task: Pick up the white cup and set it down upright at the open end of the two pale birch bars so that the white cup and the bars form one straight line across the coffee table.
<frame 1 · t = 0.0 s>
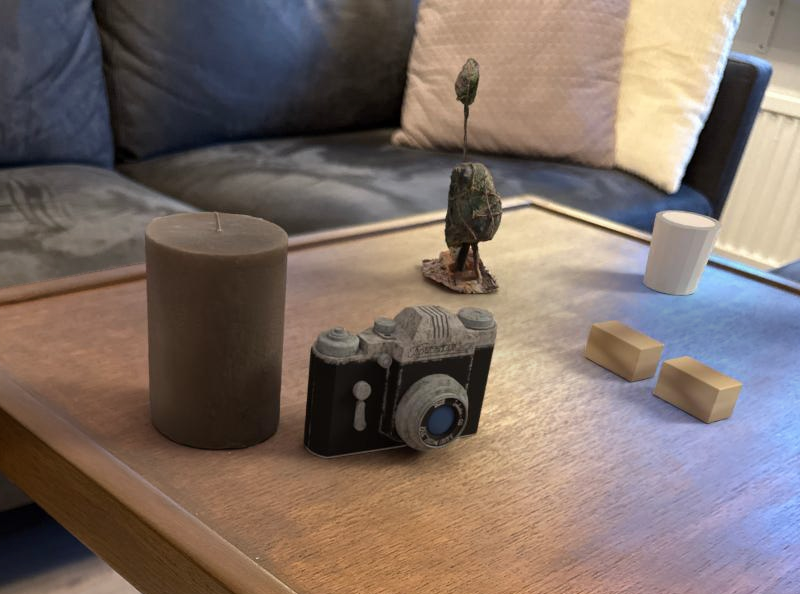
plant with pod: (458, 285, 102), on the table
bar b: (618, 366, 88), on the table
camera: (402, 447, 73), on the table
white cup: (668, 287, 107), on the table
bar a: (691, 405, 83), on the table
pillar candle: (214, 421, 74), on the table
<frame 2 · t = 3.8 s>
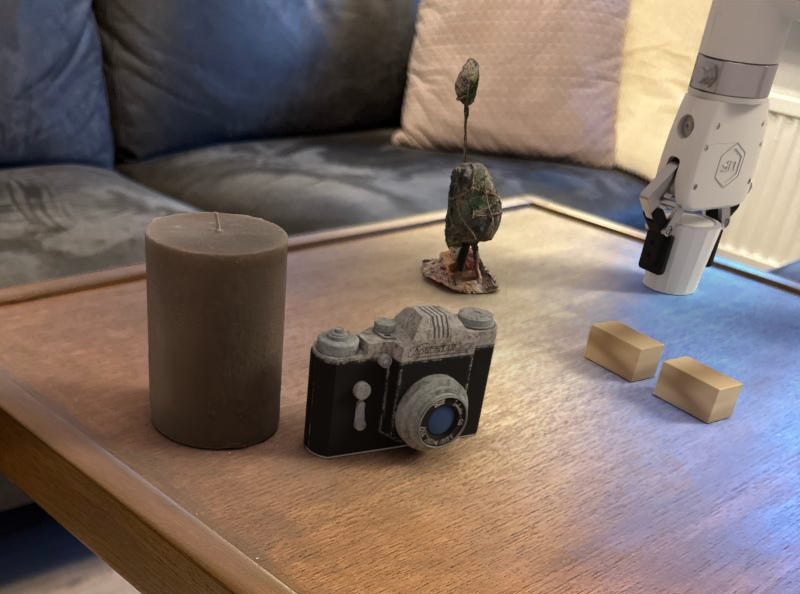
hand: (675, 265, 106), 2 cm above the table, tool pointing down, fingers closed on white cup, 6 cm apart
white cup: (668, 287, 107), on the table, touching gripper
everything else where it was.
when the fingers open (2 cm above the table, at t = 11.5 s): white cup stays where it is, on the table.
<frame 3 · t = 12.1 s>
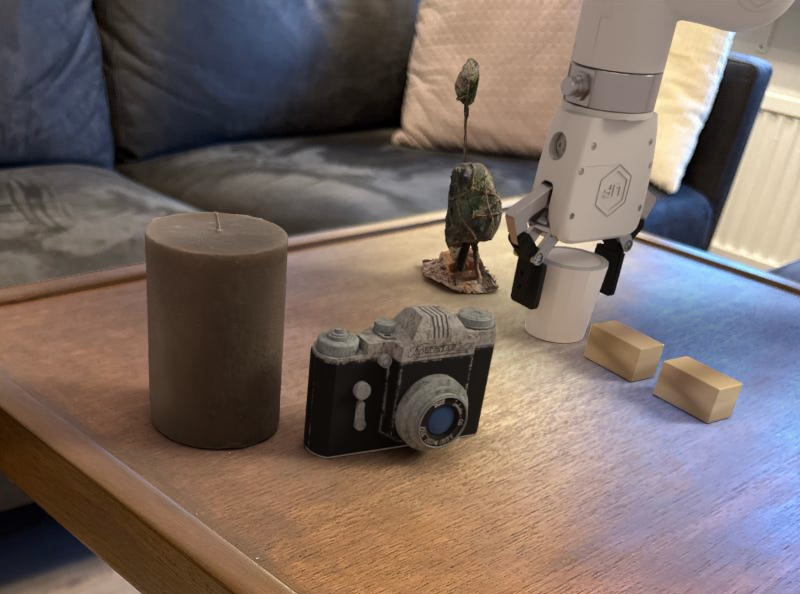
hand: (562, 297, 92), 3 cm above the table, tool pointing down, fingers open, 9 cm apart
white cup: (553, 333, 94), on the table
everything else where it was.
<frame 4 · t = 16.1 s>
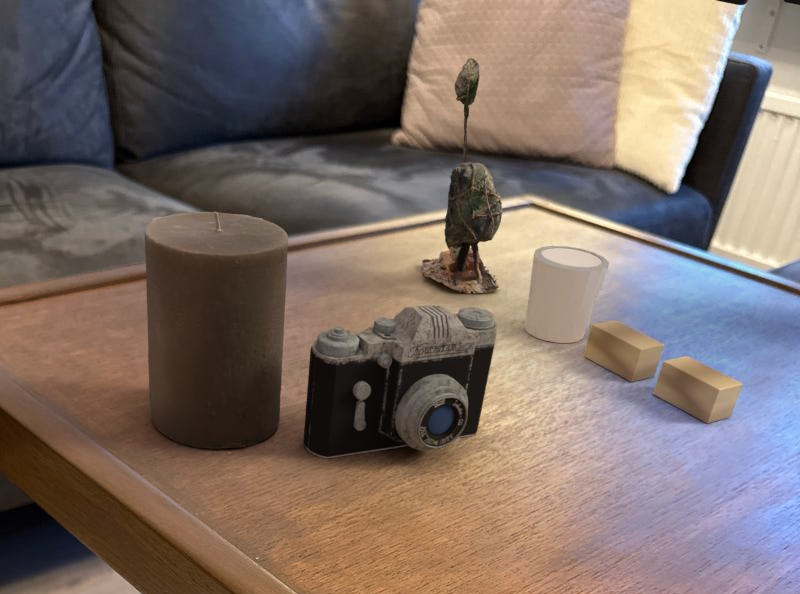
hand: (764, 3, 89), 26 cm above the table, tool pointing down, fingers open, 9 cm apart
nothing on the table moved.
at the end: white cup 0.1 cm from the target spot on the table beside the bar a, on the table; white cup tilted 0° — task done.
